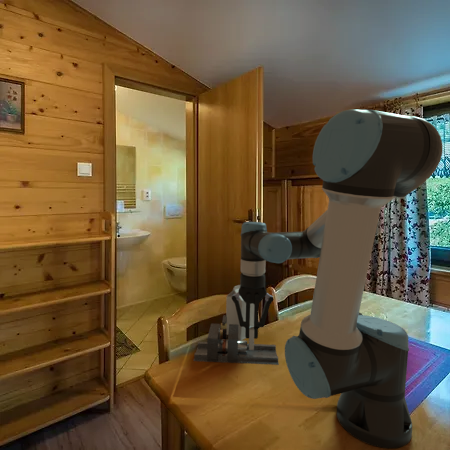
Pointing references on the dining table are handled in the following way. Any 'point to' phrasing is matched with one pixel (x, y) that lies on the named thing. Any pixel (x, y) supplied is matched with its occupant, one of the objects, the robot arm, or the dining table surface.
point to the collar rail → (233, 348)
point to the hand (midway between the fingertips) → (251, 347)
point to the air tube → (224, 346)
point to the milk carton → (232, 313)
